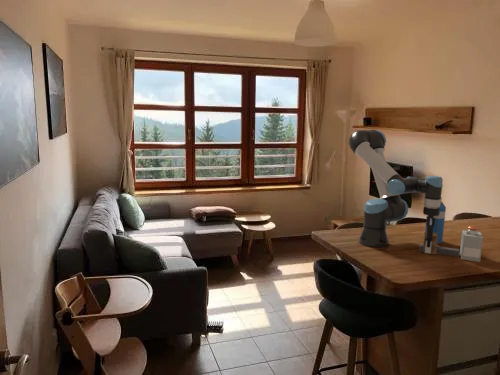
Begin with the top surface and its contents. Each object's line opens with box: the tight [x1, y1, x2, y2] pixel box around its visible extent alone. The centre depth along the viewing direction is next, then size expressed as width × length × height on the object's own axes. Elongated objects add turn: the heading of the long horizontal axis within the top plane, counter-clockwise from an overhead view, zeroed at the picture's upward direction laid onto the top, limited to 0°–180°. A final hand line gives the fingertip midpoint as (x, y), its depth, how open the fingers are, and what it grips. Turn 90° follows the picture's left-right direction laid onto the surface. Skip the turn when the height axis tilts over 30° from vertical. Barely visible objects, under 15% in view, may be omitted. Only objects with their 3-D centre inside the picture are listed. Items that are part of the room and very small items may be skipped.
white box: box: [459, 229, 484, 262], centre depth 196 cm, size 8×10×12 cm
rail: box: [418, 243, 460, 258], centre depth 202 cm, size 18×5×3 cm, turn 67°
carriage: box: [422, 231, 438, 255], centre depth 203 cm, size 6×7×10 cm
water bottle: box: [424, 196, 447, 245], centre depth 220 cm, size 9×9×25 cm
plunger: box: [467, 225, 479, 236], centre depth 195 cm, size 4×4×6 cm
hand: (427, 250), depth 204 cm, fingers closed on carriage, 7 cm apart
